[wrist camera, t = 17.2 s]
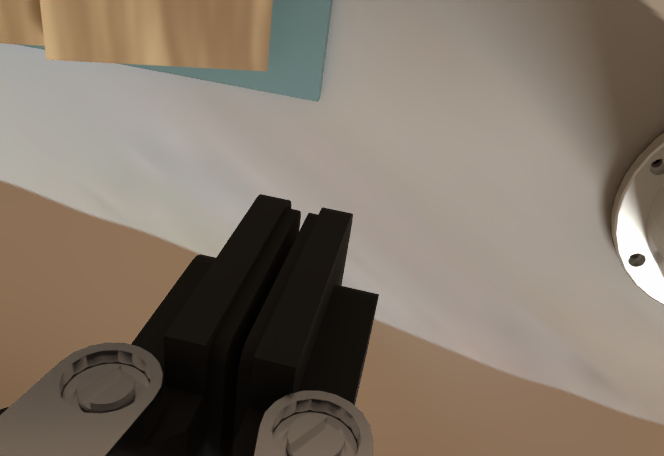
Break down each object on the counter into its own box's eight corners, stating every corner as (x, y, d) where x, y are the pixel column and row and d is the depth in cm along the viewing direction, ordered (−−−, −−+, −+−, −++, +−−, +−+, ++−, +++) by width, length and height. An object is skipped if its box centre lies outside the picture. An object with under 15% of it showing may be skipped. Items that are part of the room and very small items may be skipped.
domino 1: (275, -37, 28) (32, -62, 25) (267, 71, 31) (46, 59, 28) (269, -45, 30) (40, -69, 27) (261, 58, 32) (52, 46, 30)
